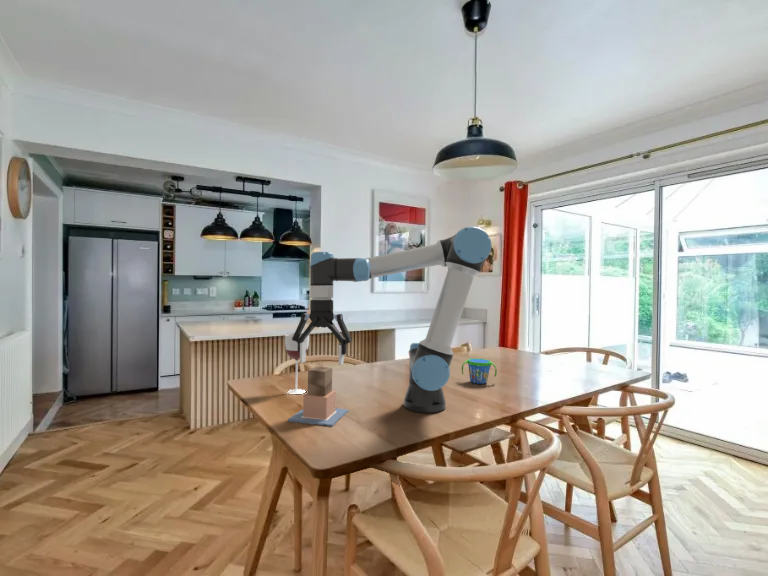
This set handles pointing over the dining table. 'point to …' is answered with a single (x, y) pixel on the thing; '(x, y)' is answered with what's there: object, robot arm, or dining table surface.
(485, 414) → the dining table surface
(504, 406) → the dining table surface
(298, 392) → the wineglass
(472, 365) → the snack cup
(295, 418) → the board
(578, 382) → the dining table surface
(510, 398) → the dining table surface
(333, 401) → the terracotta base
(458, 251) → the robot arm
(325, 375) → the walnut column
